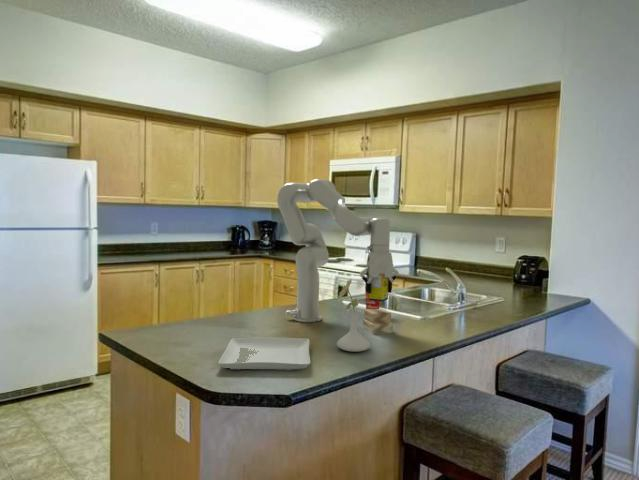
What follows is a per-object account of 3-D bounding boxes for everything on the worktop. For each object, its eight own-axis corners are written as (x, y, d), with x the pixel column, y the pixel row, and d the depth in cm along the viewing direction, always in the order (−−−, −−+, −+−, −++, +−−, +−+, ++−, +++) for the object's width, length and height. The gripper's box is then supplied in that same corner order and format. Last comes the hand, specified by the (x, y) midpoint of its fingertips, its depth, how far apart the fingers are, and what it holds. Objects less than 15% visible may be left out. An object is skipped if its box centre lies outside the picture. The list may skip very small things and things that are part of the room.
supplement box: (388, 299, 191) (389, 272, 190) (382, 301, 185) (383, 274, 185) (374, 297, 194) (375, 271, 193) (368, 300, 188) (369, 272, 188)
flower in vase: (349, 342, 172) (351, 274, 170) (376, 349, 165) (378, 278, 163) (327, 350, 162) (328, 278, 160) (354, 358, 155) (356, 282, 153)
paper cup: (361, 316, 214) (362, 285, 213) (367, 312, 221) (368, 283, 220) (377, 318, 211) (378, 287, 210) (383, 315, 218) (384, 284, 217)
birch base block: (371, 334, 185) (372, 324, 184) (362, 328, 193) (363, 319, 193) (392, 333, 187) (393, 323, 187) (382, 327, 196) (383, 318, 196)
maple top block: (372, 324, 185) (372, 313, 185) (364, 319, 193) (364, 309, 193) (391, 322, 188) (391, 312, 188) (382, 318, 195) (382, 308, 195)
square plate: (309, 347, 166) (309, 336, 166) (310, 375, 139) (310, 362, 139) (231, 346, 165) (231, 335, 165) (217, 374, 138) (217, 361, 138)
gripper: (363, 250, 182) (362, 295, 183) (403, 249, 187) (402, 293, 189) (355, 248, 189) (354, 291, 190) (395, 248, 194) (393, 290, 196)
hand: (378, 292), depth 189 cm, fingers closed on supplement box, 8 cm apart
